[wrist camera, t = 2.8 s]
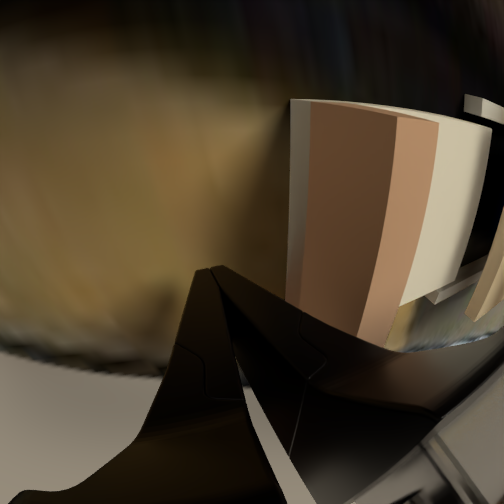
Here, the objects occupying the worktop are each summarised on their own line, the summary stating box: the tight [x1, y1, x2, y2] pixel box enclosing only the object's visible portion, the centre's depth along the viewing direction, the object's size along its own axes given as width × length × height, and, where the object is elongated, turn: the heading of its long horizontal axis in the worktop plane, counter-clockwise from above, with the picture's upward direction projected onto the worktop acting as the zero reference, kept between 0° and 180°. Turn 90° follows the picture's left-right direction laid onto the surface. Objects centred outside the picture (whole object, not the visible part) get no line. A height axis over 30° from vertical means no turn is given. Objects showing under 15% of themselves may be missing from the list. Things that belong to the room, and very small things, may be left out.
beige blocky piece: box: [285, 99, 492, 348], centre depth 11 cm, size 12×10×5 cm
